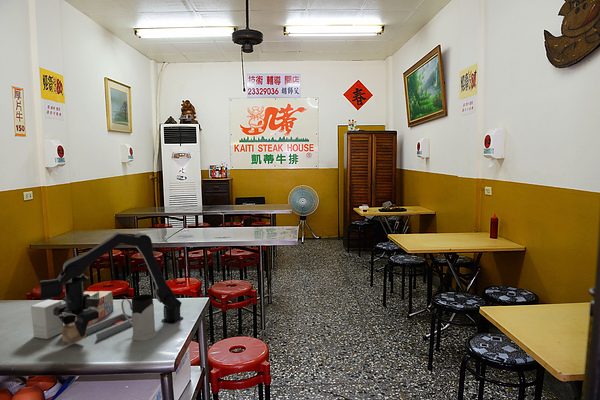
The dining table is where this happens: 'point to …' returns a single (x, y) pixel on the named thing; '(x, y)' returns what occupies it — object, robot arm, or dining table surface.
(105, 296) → the stack of blocks
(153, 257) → the robot arm
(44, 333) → the supplement box
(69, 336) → the tan cube
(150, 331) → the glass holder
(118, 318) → the trap channel
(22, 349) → the dining table surface
